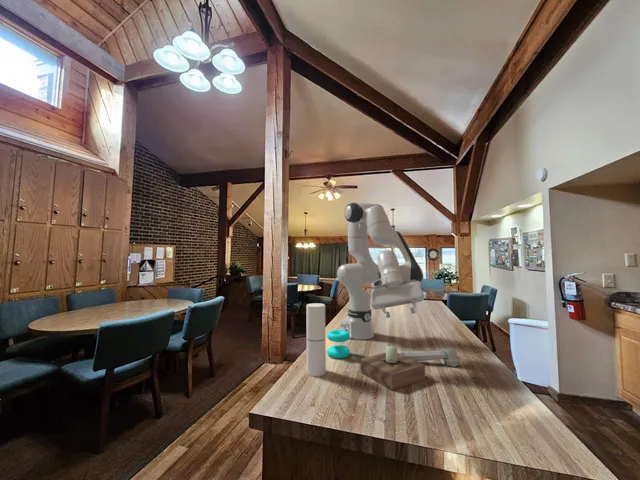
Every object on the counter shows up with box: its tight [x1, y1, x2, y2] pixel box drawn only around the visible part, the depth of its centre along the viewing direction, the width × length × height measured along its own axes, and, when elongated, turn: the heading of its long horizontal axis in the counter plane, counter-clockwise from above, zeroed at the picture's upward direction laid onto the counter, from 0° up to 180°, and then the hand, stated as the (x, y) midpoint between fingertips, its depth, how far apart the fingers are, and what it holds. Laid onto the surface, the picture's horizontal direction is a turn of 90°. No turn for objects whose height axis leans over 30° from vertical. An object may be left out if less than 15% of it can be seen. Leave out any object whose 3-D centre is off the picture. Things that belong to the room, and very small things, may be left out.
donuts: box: [326, 329, 351, 359], centre depth 121 cm, size 10×10×10 cm
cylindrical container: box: [305, 302, 327, 377], centre depth 104 cm, size 7×7×25 cm
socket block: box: [360, 352, 426, 391], centre depth 100 cm, size 16×16×5 cm
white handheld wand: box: [397, 348, 461, 368], centre depth 111 cm, size 5×7×25 cm
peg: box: [385, 345, 398, 365], centre depth 100 cm, size 4×4×10 cm
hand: (400, 315), depth 104 cm, fingers open, 8 cm apart
